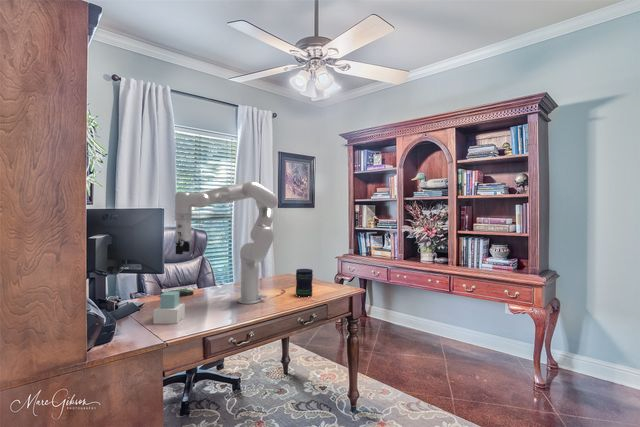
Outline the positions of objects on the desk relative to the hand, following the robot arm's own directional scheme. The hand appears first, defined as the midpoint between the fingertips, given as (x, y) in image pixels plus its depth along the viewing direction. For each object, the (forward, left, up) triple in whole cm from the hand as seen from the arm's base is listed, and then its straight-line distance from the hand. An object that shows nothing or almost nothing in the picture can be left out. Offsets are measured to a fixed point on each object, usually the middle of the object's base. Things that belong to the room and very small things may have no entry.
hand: (182, 252), depth 163 cm
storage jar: (-60, -30, -28) cm, 73 cm away
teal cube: (+1, +13, -22) cm, 26 cm away
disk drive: (+13, -30, -29) cm, 44 cm away
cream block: (+1, +13, -28) cm, 31 cm away
